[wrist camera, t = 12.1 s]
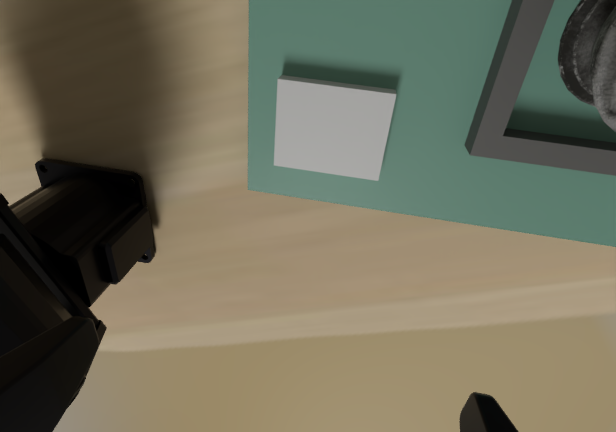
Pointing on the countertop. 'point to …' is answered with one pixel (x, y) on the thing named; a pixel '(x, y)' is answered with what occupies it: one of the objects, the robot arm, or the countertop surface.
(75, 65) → the countertop surface
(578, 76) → the weathered stone pawn
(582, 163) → the socket board
